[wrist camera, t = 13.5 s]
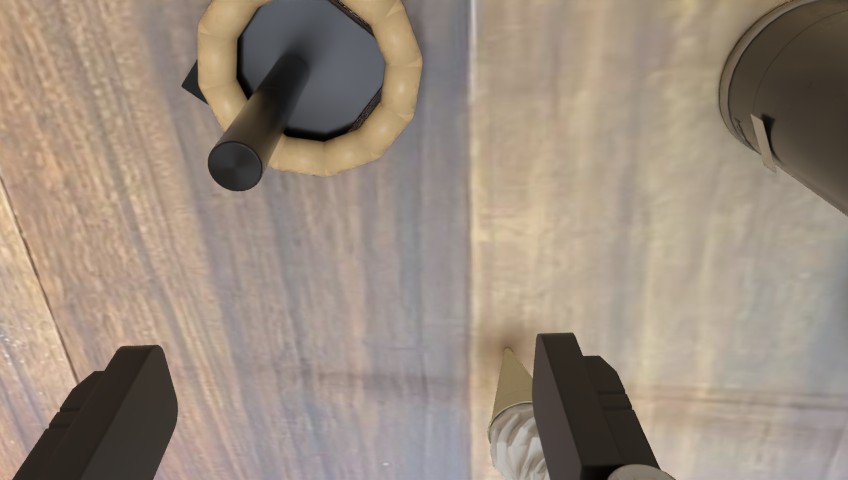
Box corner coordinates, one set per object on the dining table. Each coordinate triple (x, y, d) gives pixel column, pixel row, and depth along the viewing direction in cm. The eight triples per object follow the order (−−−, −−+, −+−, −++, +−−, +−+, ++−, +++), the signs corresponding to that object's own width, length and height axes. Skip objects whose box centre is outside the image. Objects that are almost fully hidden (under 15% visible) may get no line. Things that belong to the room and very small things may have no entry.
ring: (281, -105, 31) (274, -105, 29) (463, 51, 35) (466, 59, 33) (163, 83, 35) (151, 92, 34) (337, 202, 39) (334, 217, 38)
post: (269, -53, 33) (183, -17, 20) (403, 54, 36) (406, 146, 23) (186, 81, 37) (65, 187, 23) (316, 168, 39) (274, 308, 26)
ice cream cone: (468, 373, 48) (494, 553, 35) (481, 320, 46) (514, 492, 32) (532, 379, 48) (582, 559, 35) (547, 326, 46) (607, 499, 33)
